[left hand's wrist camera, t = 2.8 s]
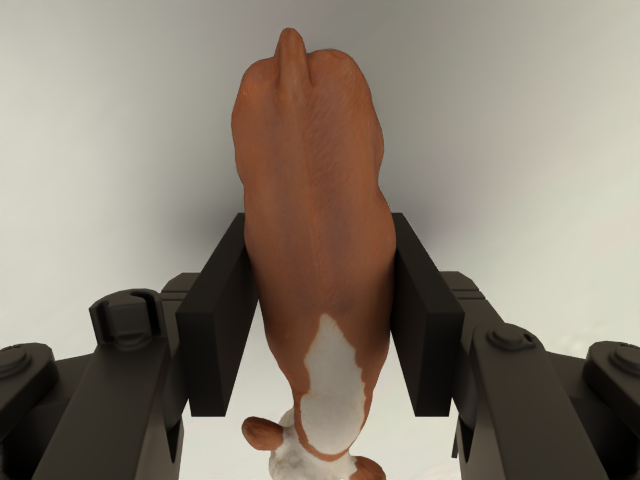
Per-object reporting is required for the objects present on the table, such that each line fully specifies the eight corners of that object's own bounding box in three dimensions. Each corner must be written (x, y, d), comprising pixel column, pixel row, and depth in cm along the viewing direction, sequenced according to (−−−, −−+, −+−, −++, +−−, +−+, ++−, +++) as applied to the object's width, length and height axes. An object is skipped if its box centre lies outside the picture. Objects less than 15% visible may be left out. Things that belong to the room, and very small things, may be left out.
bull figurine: (274, 359, 19) (242, 546, 11) (257, 48, 14) (180, 6, 6) (365, 359, 19) (395, 547, 11) (381, 48, 14) (456, 6, 6)
